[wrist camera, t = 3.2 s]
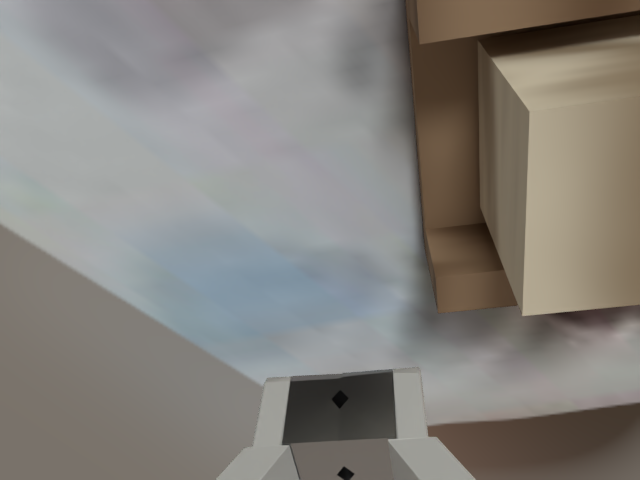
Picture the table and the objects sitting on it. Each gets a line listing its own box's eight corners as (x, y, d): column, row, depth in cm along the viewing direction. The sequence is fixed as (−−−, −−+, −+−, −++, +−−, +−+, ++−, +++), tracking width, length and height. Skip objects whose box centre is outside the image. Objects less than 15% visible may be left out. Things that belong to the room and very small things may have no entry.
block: (480, 207, 21) (522, 316, 16) (477, 39, 18) (529, 111, 13) (653, 185, 20) (754, 293, 15) (684, 8, 17) (824, 70, 12)
